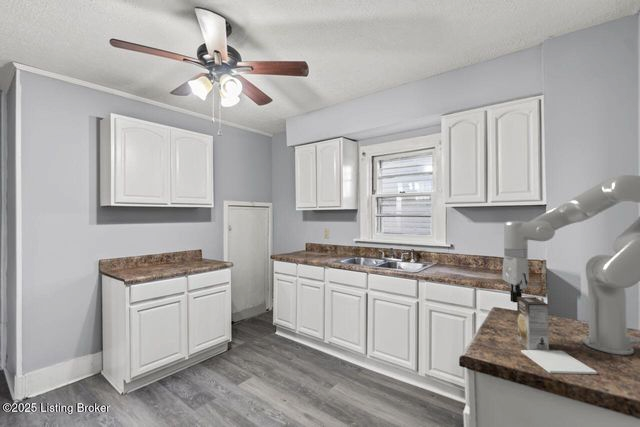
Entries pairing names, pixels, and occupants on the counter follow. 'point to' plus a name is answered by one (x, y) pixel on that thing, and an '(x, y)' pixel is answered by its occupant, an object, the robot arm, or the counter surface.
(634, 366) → the counter surface
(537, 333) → the coffee box
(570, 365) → the mat
